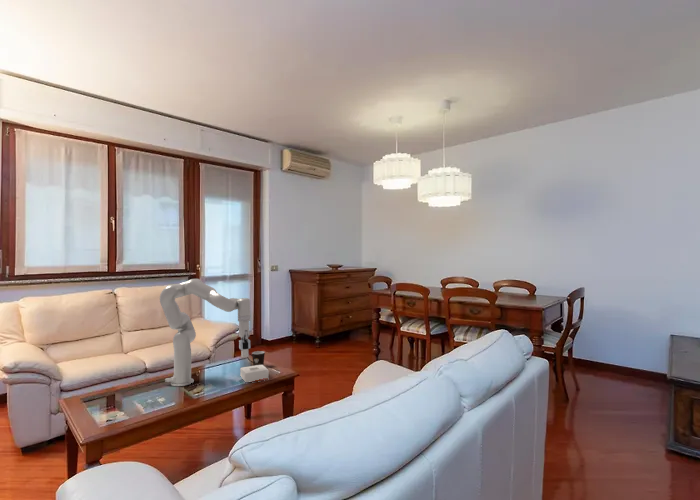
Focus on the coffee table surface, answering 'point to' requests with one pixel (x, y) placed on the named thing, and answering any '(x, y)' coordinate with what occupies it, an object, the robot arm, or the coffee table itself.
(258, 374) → the socket
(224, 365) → the coffee table surface
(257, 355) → the coffee mug
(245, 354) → the plug
